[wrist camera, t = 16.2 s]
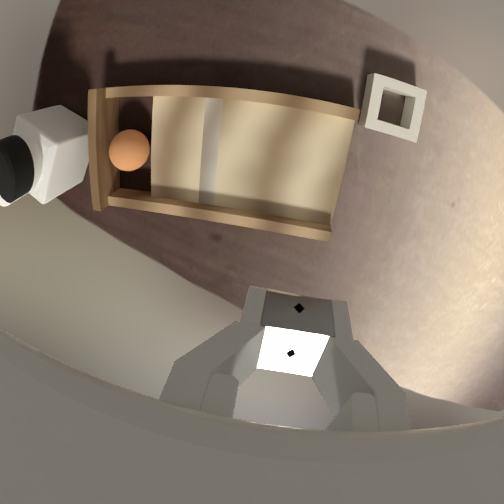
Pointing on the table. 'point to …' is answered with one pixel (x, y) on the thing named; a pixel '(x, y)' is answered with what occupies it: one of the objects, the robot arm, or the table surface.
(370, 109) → the square ring
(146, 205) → the lane
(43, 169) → the medicine bottle
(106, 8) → the table surface
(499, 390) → the table surface
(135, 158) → the ball
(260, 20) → the table surface
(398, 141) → the table surface
